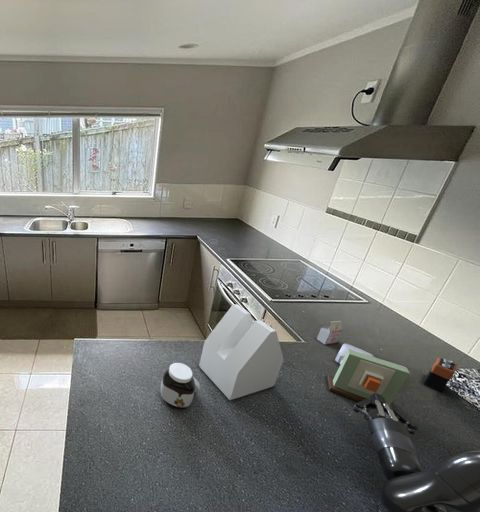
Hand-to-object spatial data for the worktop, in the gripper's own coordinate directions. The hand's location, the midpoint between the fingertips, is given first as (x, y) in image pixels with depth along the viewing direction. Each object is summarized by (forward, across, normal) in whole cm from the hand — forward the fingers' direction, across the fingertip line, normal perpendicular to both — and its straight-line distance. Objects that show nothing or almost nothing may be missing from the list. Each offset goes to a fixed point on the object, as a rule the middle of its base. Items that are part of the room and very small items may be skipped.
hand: (376, 395), depth 83 cm
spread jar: (-26, +50, +9) cm, 57 cm away
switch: (+5, 0, +2) cm, 5 cm away
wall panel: (+9, 0, +9) cm, 13 cm away
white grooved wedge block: (-6, +36, +9) cm, 38 cm away
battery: (+32, -24, +9) cm, 41 cm away
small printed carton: (+39, +6, +9) cm, 41 cm away
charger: (+25, 0, +9) cm, 27 cm away
